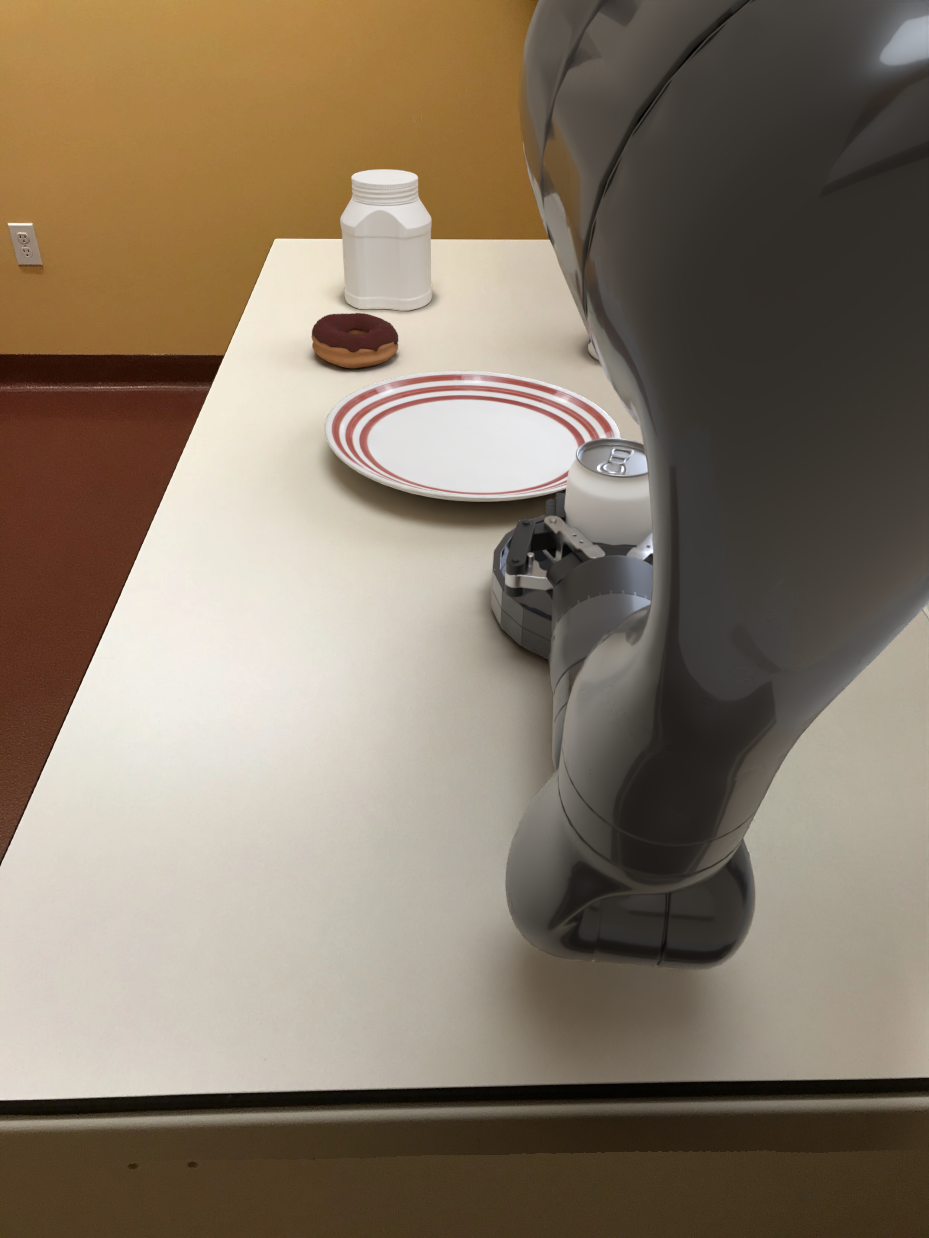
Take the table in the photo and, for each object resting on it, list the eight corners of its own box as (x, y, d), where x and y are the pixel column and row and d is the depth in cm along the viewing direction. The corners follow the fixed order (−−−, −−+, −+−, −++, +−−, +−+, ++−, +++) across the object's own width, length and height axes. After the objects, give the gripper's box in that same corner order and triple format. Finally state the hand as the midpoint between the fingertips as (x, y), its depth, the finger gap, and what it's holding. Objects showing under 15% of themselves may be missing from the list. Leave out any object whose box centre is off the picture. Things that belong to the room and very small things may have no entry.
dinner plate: (530, 380, 106) (532, 350, 104) (676, 490, 86) (682, 457, 84) (289, 422, 96) (286, 391, 94) (392, 558, 76) (391, 522, 74)
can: (544, 617, 69) (557, 467, 62) (569, 571, 74) (584, 428, 67) (632, 638, 67) (655, 486, 60) (652, 590, 72) (676, 444, 65)
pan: (615, 530, 80) (620, 490, 78) (758, 630, 69) (769, 587, 67) (450, 587, 73) (450, 544, 71) (581, 708, 62) (586, 662, 60)
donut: (406, 368, 108) (405, 334, 105) (318, 375, 106) (315, 340, 103) (390, 337, 116) (389, 304, 113) (308, 343, 114) (305, 309, 111)
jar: (339, 308, 123) (331, 183, 115) (351, 285, 131) (344, 166, 122) (428, 312, 123) (427, 187, 114) (434, 288, 131) (434, 169, 122)
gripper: (755, 605, 52) (719, 466, 66) (493, 587, 53) (511, 453, 67) (730, 708, 57) (701, 558, 70) (489, 690, 58) (506, 545, 71)
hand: (608, 507), depth 69 cm, fingers closed on can, 6 cm apart
